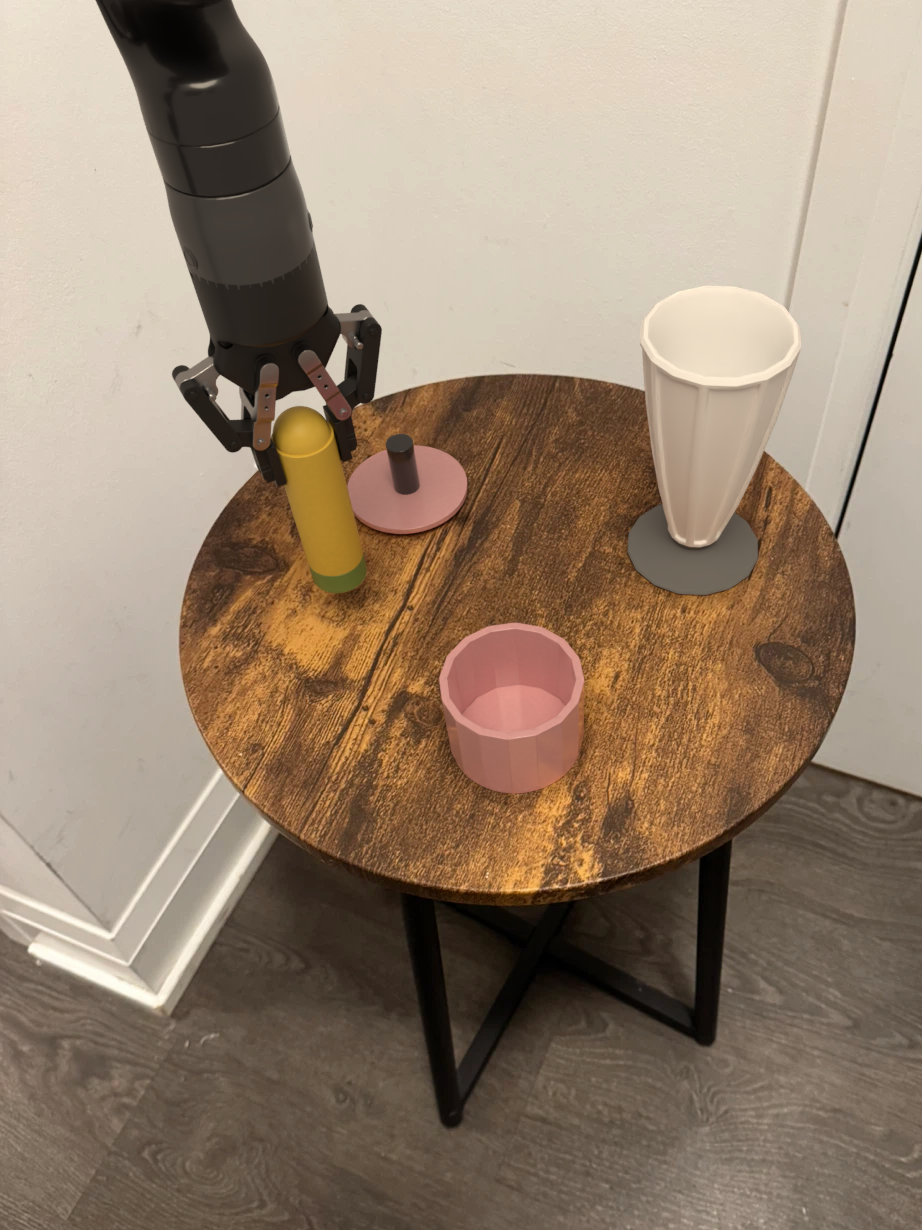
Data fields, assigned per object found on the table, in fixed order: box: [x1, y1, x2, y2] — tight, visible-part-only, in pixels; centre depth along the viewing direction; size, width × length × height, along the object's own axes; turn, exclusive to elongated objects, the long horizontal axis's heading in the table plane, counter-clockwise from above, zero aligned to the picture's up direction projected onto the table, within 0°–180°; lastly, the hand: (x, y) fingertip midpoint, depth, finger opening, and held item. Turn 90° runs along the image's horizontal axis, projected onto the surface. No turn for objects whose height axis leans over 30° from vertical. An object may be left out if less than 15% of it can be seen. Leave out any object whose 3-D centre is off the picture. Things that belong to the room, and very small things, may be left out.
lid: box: [347, 433, 469, 535], centre depth 93 cm, size 11×11×6 cm
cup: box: [626, 285, 802, 596], centre depth 82 cm, size 12×12×22 cm
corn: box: [271, 405, 368, 594], centre depth 77 cm, size 4×4×16 cm
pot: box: [438, 622, 585, 794], centre depth 77 cm, size 10×10×8 cm
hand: (310, 466), depth 74 cm, fingers closed on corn, 4 cm apart
